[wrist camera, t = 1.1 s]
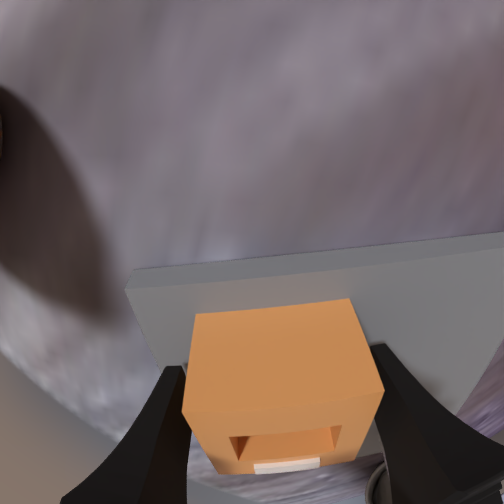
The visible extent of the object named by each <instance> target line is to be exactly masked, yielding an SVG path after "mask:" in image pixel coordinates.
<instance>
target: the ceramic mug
mask: <svg viewBox="0 0 504 504" xmlns="http://www.w3.org/2000/svg"><path fill="white" fill-rule="evenodd" d="M365 501H366V504H392V495H391V486H390V480H389V476H388V472H387V468H386V464H385V462H383V463H382V464H381V465H380V466H378V467H377V469H376V470H375V471H374V472H373V474H372V475H371V477H370V479H369V481H368V483H367V486H366V490H365Z"/></svg>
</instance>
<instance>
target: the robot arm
mask: <svg viewBox="0 0 504 504" xmlns="http://www.w3.org/2000/svg"><path fill="white" fill-rule="evenodd" d="M370 352H371V354H372V357H373V360H374V362H375V365H376V368H377V370H378V373H379V376H380V379H381V381H382V384H383V387H384V390H385V391H384V394H383V396H382V399H381V401H380V404H379V406H378V409H377V411H376V414H375V416H374V420H375V423H376V426H377V429H378V432H379V435H380V438H381V441H382V444H383V448H384V451H385V456H386V461H387V467H388V473H389V479H390V486H391V495H392V504H504V493H502V494H500V491H499V490H500V489H502V484H501V481H502V480H503V479H504V446H503V445H501V444H499V443H497V442H495V441H493V440H491V439H489V438H487V437H486V436H484V435H482V434H480V433H479V432H477V431H476V430H474V429H473V428H471V427H470V426H468V425H467V424H465V423H464V422H463V421H461V420H460V419H459V418H457V417H456V416H455V415H453V414H452V413H451V412H450V411H449V410H447V409H446V408H445V407H444V406H443V405H442V404H441V403H439V402H438V401H437V400H436V399H435V398H434V397H433V396H432V395H431V394H430V393H429V392H428V391H427V390H426V389H425V388H424V387H423V386H422V385H421V384H420V383H419V381H418V380H417V379H416V378H415V377H414V376H413V375H412V374H411V373H410V372H409V370H408V369H407V368H406V367H405V366H404V365H403V364H402V362H401V361H400V360H399V359H398V358H397V356H396V355H395V354H394V353H393V352H392V350H391V349H390V348H389V347H388V346H387V344H385V343H383V344H378V345H372V346H370ZM185 384H186V375H185V372H184V370H183V368H182V365H178V366H166V367H165V368H164V370H163V372H162V374H161V376H160V378H159V380H158V382H157V384H156V386H155V388H154V389H153V391H152V393H151V395H150V397H149V398H148V400H147V402H146V404H145V405H144V407H143V409H142V410H141V412H140V414H139V415H138V417H137V418H136V420H135V421H134V423H133V424H132V426H131V428H130V429H129V431H128V432H127V433H126V435H125V436H124V437H123V439H122V440H121V441H120V443H119V444H118V445H117V447H116V448H115V449H114V450H113V451H112V453H111V454H110V455H109V456H108V457H107V458H106V459H105V460H104V462H103V463H102V464H101V465H100V466H99V467H98V468H97V469H96V470H95V471H94V472H93V473H91V474H90V475H89V476H88V477H87V478H86V479H85V480H84V481H83V482H82V483H80V484H79V485H78V486H77V487H75V488H74V489H73V490H71V491H70V492H69V493H68V494H66V495H65V496H63V497H62V499H61V501H60V504H187V486H186V485H187V484H186V483H187V463H188V456H189V448H190V441H191V434H192V430H191V428H190V426H189V424H188V422H187V421H186V419H185V417H184V415H183V414H182V406H183V399H184V391H185Z"/></svg>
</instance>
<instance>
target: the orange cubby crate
mask: <svg viewBox="0 0 504 504" xmlns="http://www.w3.org/2000/svg"><path fill="white" fill-rule="evenodd" d="M384 391H385V390H384V387H383V384H382V381H381V379H380V376H379V373H378V370H377V368H376V365H375V362H374V360H373V357H372V354H371V352H370V349H369V346H368V344H367V341H366V338H365V336H364V333H363V331H362V328H361V326H360V323H359V321H358V318H357V316H356V313H355V311H354V308H353V306H352V303H351V301H350V299H349V298H348V299H340V300H333V301H325V302H317V303H308V304H299V305H290V306H281V307H271V308H261V309H251V310H240V311H228V312H216V313H202V314H196V316H195V322H194V328H193V335H192V342H191V348H190V355H189V362H188V369H187V376H186V384H185V391H184V399H183V406H182V414H183V415H184V417H185V419H186V421H187V422H188V424H189V426H190V428H191V430H192V431H193V433H194V435H195V436H196V438H197V440H198V442H199V443H200V445H201V447H202V448H203V450H204V451H205V453H206V455H207V456H208V458H209V460H210V461H211V463H212V464H213V466H214V467H215V469H216V471H217V472H218V474H252V473H256V474H268V473H280V472H290V471H299V470H307V469H314V468H319V467H320V466H326V465H332V464H338V463H343V462H348V461H353V460H355V458H356V456H357V454H358V452H359V449H360V447H361V445H362V443H363V441H364V439H365V437H366V434H367V432H368V430H369V428H370V425H371V423H372V421H373V418H374V416H375V414H376V411H377V409H378V406H379V404H380V401H381V399H382V396H383V394H384Z"/></svg>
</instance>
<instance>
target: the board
mask: <svg viewBox="0 0 504 504" xmlns="http://www.w3.org/2000/svg"><path fill="white" fill-rule="evenodd" d="M125 292H126V294H127V297H128V299H129V302H130V304H131V307H132V309H133V312H134V314H135V316H136V319H137V321H138V323H139V326H140V328H141V330H142V333H143V335H144V337H145V339H146V342H147V344H148V346H149V348H150V350H151V353H152V355H153V357H154V359H155V361H156V363H157V365H158V367H159V369H160V371H161V373H162V372H163V370H164V368H165V367H166V366H178V365H182V368H183V370H184V372H185V375H186V376H187V369H188V362H189V355H190V348H191V342H192V335H193V328H194V322H195V316H196V314H202V313H216V312H228V311H240V310H251V309H261V308H271V307H281V306H290V305H299V304H308V303H317V302H325V301H333V300H340V299H348V298H349V299H350V301H351V303H352V306H353V308H354V311H355V313H356V316H357V318H358V321H359V323H360V326H361V328H362V331H363V333H364V336H365V338H366V341H367V344H368V346H369V349H370V346H372V345H378V344H383V343H385V344H387V346H388V347H389V348H390V349H391V350H392V352H393V353H394V354H395V355H396V356H397V358H398V359H399V360H400V361H401V362H402V364H403V365H404V366H405V367H406V368H407V369H408V370H409V372H410V373H411V374H412V375H413V376H414V377H415V378H416V379H417V380H418V381H419V383H420V384H421V385H422V386H423V387H424V388H425V389H426V390H427V391H428V392H429V393H430V394H431V395H432V396H433V397H434V398H435V399H436V400H437V401H438V402H439V403H441V404H442V405H443V406H444V407H445V408H446V409H447V410H449V411H450V412H451V413H452V414H453V415H456V413H457V412H458V411H459V409H460V408H461V406H462V405H463V404H464V402H465V401H466V399H467V398H468V396H469V395H470V393H471V392H472V390H473V389H474V387H475V386H476V384H477V383H478V381H479V380H480V378H481V376H482V375H483V373H484V372H485V370H486V368H487V367H488V365H489V363H490V362H491V360H492V358H493V356H494V355H495V353H496V351H497V349H498V347H499V346H500V344H501V342H502V340H503V338H504V232H496V233H487V234H478V235H469V236H460V237H451V238H442V239H433V240H424V241H415V242H405V243H396V244H387V245H377V246H368V247H358V248H349V249H339V250H330V251H320V252H310V253H300V254H291V255H281V256H271V257H261V258H251V259H241V260H231V261H221V262H210V263H200V264H190V265H180V266H169V267H159V268H148V269H138V270H133V272H132V274H131V276H130V279H129V281H128V283H127V285H126V287H125ZM378 435H379V432H378V429H377V426H376V423H375V420H374V418H373V421H372V423H371V425H370V428H369V430H368V432H367V434H366V437H365V439H364V441H363V443H362V445H361V447H360V449H359V452H358V454H357V456H356V458H359V457H363V456H368V455H372V454H376V453H380V452H382V449H381V445H380V442H379V438H378ZM195 437H196V436H195ZM204 452H205V451H204ZM214 468H215V467H214Z"/></svg>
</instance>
